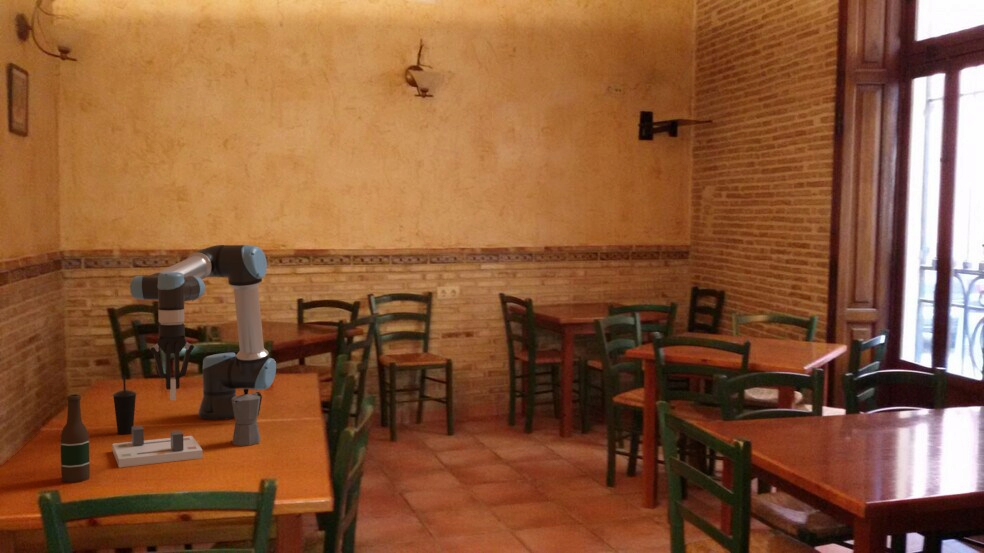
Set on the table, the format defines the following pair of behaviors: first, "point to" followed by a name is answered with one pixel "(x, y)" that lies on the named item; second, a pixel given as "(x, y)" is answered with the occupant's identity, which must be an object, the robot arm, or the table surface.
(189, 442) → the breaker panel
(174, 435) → the lever
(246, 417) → the coffeepot
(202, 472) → the table surface
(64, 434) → the beer bottle
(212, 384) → the robot arm
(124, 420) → the drinking cup
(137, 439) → the on lever
